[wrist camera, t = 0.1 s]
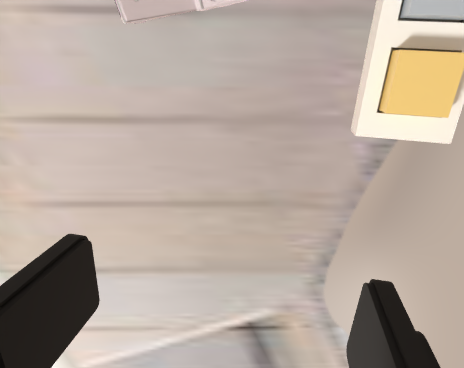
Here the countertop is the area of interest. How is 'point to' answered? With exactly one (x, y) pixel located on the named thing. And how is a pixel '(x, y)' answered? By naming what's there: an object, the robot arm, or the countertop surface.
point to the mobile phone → (164, 8)
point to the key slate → (433, 9)
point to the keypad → (376, 67)
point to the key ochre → (422, 82)
